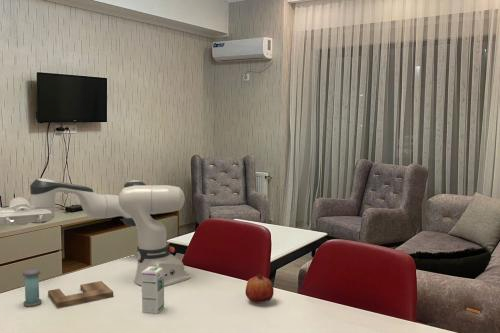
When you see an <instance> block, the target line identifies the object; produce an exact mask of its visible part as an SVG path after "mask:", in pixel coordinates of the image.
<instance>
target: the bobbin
mask: <svg viewBox="0 0 500 333" xmlns="http://www.w3.org/2000/svg"><path fill="white" fill-rule="evenodd" d="M40 274H41V269H40V268H36V267H35V268H32V267H31V268H28V269H24V270H23V271H22V276H24V291H25V292H24V295H25V297H24V301H23V306H24V308H35V307H38V306H40V305H41V304H42V299H41V298H40V281H39V280H40V278H39V277H40V276H39V275H40Z"/></svg>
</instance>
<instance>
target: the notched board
mask: <svg viewBox="0 0 500 333" xmlns="http://www.w3.org/2000/svg"><path fill="white" fill-rule="evenodd" d="M79 288H80V291H81V292H78V293H75V294H74V293H73V294H69V295H65V293H63V291H62V290H61V289H60V288H55V289H50V290H47V297H48V298H49V299H50V301H51V302H52V304H54V306H55V308H56V309H61V308H65V307H72V306H76V305H80V304H86V303H91V302H95V301H100V300H104V299H105V300H106V299H110V298H113V297H114V290H112V289H111V288H110V287H109V286H108V285H106V283H105V282H103V281H102V280H99V281H94V282H88V283H82V284H80V286H79Z"/></svg>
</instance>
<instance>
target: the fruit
mask: <svg viewBox="0 0 500 333" xmlns="http://www.w3.org/2000/svg"><path fill="white" fill-rule="evenodd" d="M245 296H246V297H247V299H248V300H249V301H251V302H253V303H260V304H261V303H266V302H269V301H270V300H271V299H272V298H273V296H274V284H273V283H272V281H271V279H269V277H265V276H263V274H261V273H259V274H257V275H255V276H253V277H251V278H249V279H248V280H247V282H246V286H245Z"/></svg>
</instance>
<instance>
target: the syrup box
mask: <svg viewBox="0 0 500 333" xmlns="http://www.w3.org/2000/svg"><path fill="white" fill-rule="evenodd" d="M141 277H142V285H141V310H142V311H141V312H142V313H144V314H154V315H158V314H159V313H160V312H161V311H162V310H163V309H164V307H165V293H164V292H165V290H164V288H165V286H164V280H163V268H162V267H148V268H147V269H145V270H144V271H142V272H141Z"/></svg>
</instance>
